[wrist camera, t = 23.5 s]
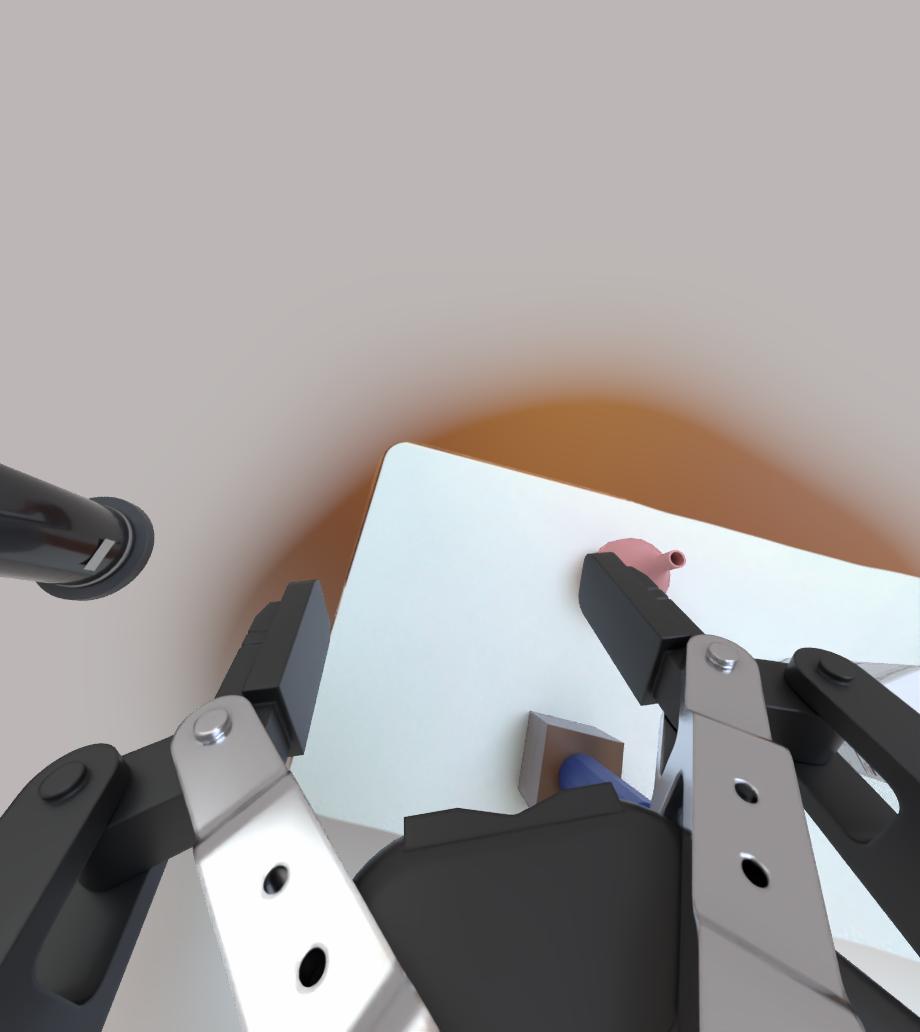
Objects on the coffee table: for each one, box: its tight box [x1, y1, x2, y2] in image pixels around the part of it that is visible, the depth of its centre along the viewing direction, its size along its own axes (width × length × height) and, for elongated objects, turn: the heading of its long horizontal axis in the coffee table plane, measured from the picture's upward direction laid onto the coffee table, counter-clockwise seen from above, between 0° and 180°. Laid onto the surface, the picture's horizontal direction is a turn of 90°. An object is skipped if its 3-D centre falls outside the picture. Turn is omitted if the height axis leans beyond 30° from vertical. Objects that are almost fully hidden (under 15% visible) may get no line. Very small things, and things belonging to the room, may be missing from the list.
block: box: [518, 711, 624, 808], centre depth 34 cm, size 7×7×6 cm
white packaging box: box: [782, 658, 920, 783], centre depth 35 cm, size 7×7×13 cm
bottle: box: [559, 753, 651, 808], centre depth 25 cm, size 4×4×13 cm
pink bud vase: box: [598, 538, 686, 593], centre depth 38 cm, size 8×8×12 cm
